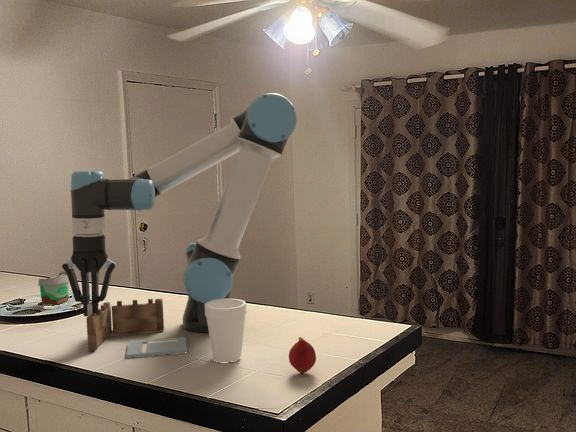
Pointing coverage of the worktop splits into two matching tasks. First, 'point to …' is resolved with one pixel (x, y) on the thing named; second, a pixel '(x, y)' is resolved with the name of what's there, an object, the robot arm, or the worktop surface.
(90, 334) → the fence hinged panel
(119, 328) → the fence fixed panel
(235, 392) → the worktop surface
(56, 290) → the food container
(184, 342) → the card
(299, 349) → the onion
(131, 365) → the worktop surface
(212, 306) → the foam cup
